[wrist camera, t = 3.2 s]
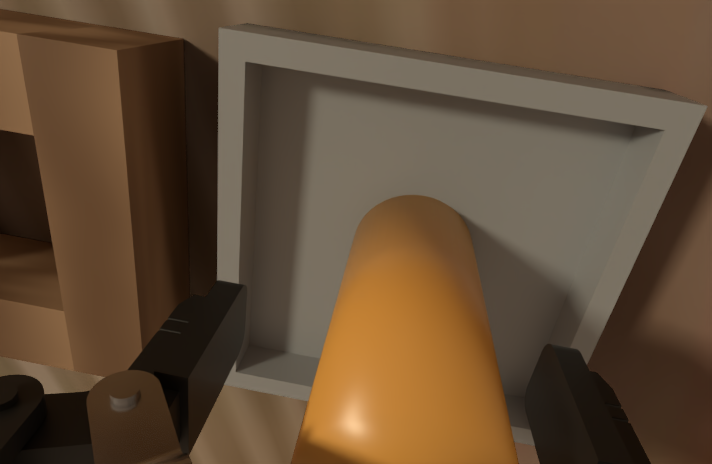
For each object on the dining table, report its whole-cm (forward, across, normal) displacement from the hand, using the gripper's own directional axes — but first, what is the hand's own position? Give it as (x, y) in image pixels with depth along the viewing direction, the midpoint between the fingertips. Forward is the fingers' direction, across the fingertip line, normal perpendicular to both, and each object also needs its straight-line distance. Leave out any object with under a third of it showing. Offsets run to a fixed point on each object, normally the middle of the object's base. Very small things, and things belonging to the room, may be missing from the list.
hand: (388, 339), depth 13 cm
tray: (+6, -1, 0) cm, 6 cm away
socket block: (+7, +14, 0) cm, 16 cm away
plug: (+6, -1, 0) cm, 6 cm away
